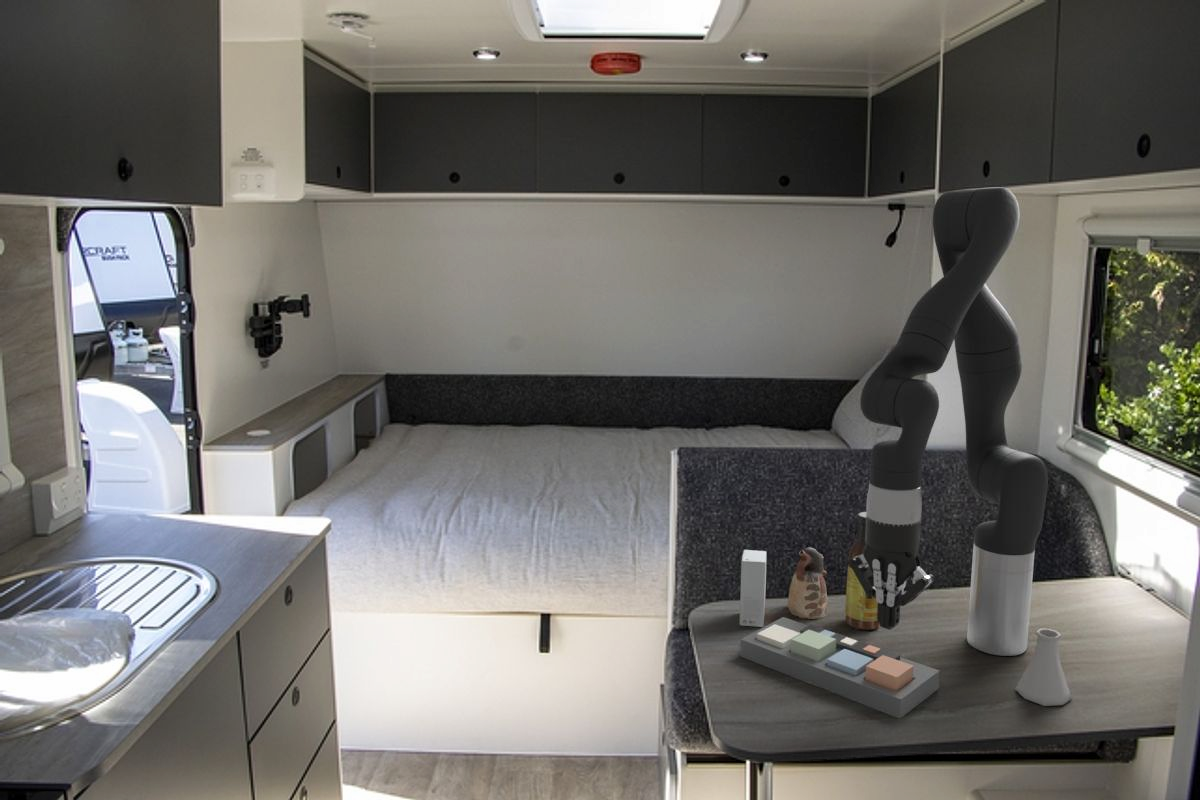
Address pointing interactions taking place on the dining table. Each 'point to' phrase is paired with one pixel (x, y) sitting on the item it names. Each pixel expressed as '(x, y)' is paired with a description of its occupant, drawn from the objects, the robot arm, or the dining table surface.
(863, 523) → the sauce bottle
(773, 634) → the key cream
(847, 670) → the key blue
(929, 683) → the keypad board
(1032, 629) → the dining table surface
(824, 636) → the key sage
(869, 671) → the block
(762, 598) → the skincare box
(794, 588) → the figurine
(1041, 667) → the flask
